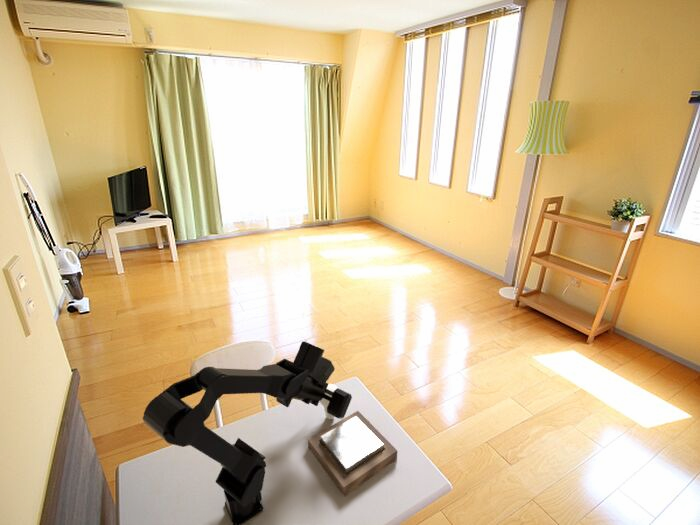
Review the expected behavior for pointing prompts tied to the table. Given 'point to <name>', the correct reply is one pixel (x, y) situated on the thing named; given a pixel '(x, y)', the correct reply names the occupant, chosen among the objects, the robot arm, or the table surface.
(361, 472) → the brown picture frame
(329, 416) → the lightbulb
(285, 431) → the table surface
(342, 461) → the platform
